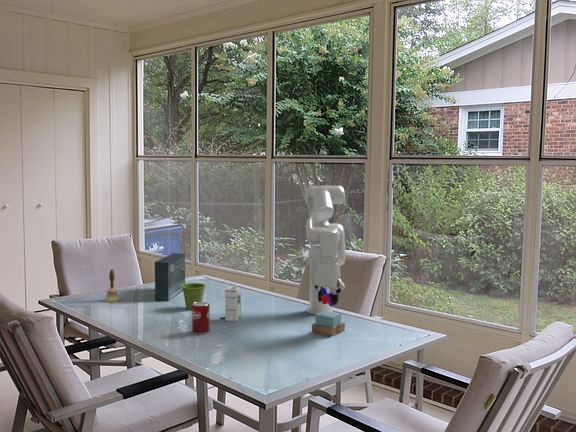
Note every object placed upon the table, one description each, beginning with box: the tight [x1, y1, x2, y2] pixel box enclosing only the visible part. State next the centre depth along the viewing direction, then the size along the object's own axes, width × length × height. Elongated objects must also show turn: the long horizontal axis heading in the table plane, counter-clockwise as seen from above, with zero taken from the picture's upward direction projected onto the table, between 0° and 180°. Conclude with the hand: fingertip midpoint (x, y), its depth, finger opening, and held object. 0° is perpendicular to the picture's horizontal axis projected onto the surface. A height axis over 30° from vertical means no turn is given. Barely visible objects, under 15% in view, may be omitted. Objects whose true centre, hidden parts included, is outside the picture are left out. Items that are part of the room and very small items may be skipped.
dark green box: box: [154, 252, 186, 302], centre depth 311 cm, size 29×7×20 cm, turn 173°
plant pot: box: [181, 282, 207, 311], centre depth 283 cm, size 12×12×11 cm
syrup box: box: [224, 286, 242, 322], centre depth 264 cm, size 6×6×14 cm
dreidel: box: [321, 288, 338, 307], centre depth 246 cm, size 4×4×8 cm
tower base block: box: [311, 321, 346, 337], centre depth 247 cm, size 10×10×4 cm
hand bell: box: [103, 269, 122, 303], centre depth 297 cm, size 8×8×16 cm
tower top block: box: [315, 311, 342, 327], centre depth 246 cm, size 8×8×4 cm
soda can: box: [191, 301, 211, 335], centre depth 244 cm, size 7×7×12 cm
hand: (327, 301), depth 246 cm, fingers closed on dreidel, 6 cm apart
